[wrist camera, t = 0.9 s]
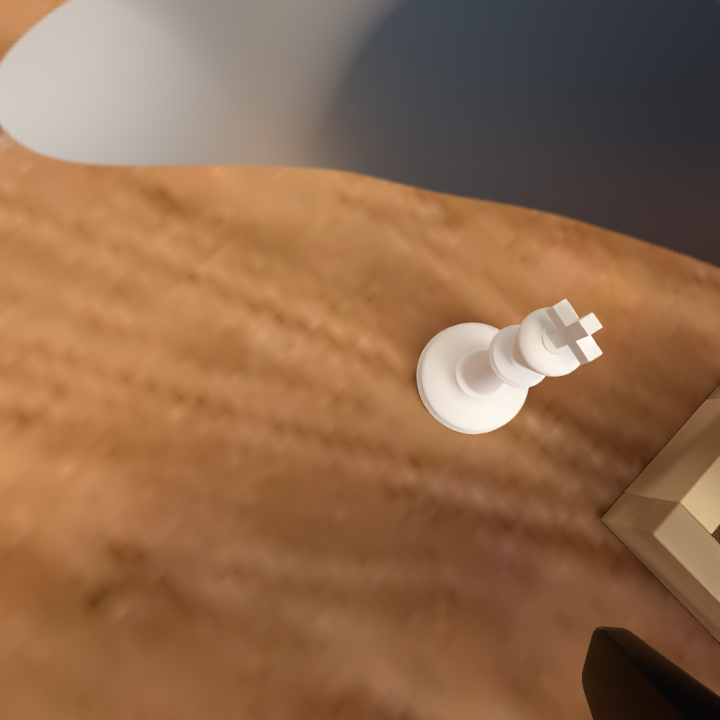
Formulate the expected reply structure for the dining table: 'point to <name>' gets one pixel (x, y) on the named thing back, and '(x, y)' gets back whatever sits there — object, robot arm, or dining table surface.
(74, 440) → the dining table surface
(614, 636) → the robot arm
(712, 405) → the rack
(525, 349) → the chess piece
